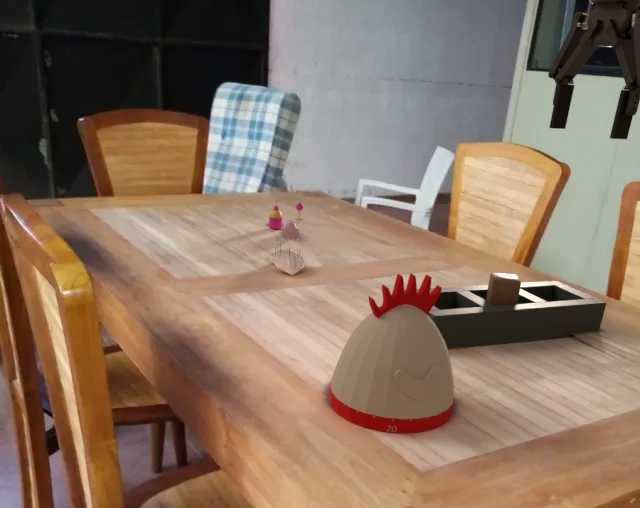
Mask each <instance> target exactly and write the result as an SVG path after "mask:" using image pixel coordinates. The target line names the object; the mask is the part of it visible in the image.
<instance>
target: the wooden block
mask: <svg viewBox="0 0 640 508" xmlns="http://www.w3.org/2000/svg"><path fill="white" fill-rule="evenodd" d="M521 283H522V282H521V279H520V278H519V276H518V275H517V274H512V273H501V272H491V273H490V274H489V280H488V284H487V285H488V290H487V296H486V301H488V302H490V303H492V304H493V305H495V306H499V305H513V304H517V300H518V295H519V291H520V286H521Z"/></svg>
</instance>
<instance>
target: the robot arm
mask: <svg viewBox="0 0 640 508" xmlns="http://www.w3.org/2000/svg"><path fill="white" fill-rule="evenodd" d="M588 1H589V3H590V4H591V5H592V8H591V11H590V12H582V11H581V12H580V11H576V12H575V13H574V15H573V18H572V22H571V25H570V29H569V30H568V33H567V35H566V37H565V39H564V41H563V43H562V45H561V47H560V49H559V51H558V53H557V55H556V57H555V58H554V61H553V63H552V65H551V67H550V69H549V71H548V75H547V76H548V78H549V79H552V80H554V82H555V88H554V93H553V97H552V106H553V108H552V113H551V117H550V118H551V119H550V123H549V126H548V127H549V129H555V130H557V129H559V130H560V129H562V130H565V129H566V127H567V123H568V118H569V113H570V108H571V103H572V98H573V95H574V94H573V93H574V89H575V81H574V79H575V78H576V76H577V75H578V74H579V72H580V71H581V70H582V69H583V67H584V66H585V65H586V63H588V60H590V58H591V57H592V55H593V54H594V53H595V52H596V51H597V50H599V49H600V48H612V49H613V50H614V51H615V55H616V57H617V61H618V65H619V67H620V71H621V73H622V77H623V80H624V83H625V85H624V86H623V87H622V89H620V93H619V97H618V101H617V106H616V110H615V115H614V118H613V123H612V127H611V130H610V135H609V139H611V140H628V137H629V133H630V129H631V125H632V121H633V117H634V116H635V115H636V114H637V112H638V109H639V105H640V9H639V6H640V0H588ZM638 9H639V10H638Z"/></svg>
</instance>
